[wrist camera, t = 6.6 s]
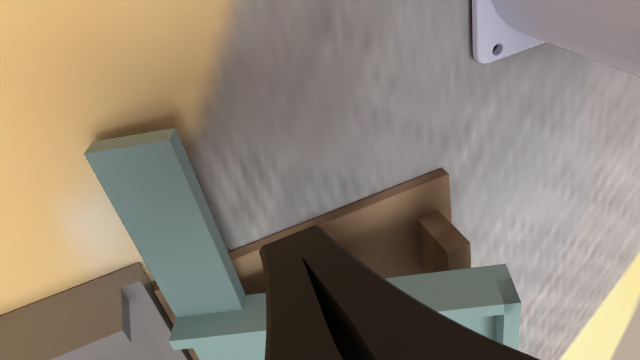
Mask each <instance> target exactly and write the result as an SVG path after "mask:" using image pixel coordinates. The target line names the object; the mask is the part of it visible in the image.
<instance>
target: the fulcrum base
mask: <svg viewBox="0 0 640 360" xmlns="http://www.w3.org/2000/svg"><path fill="white" fill-rule="evenodd" d="M314 225H317V226H319V227H321V228H322V229H323V230H324V231H325V232H326V233H327V234H329V235H330V236H331V237H332V238H333V239H334V240H335V241H336V242H337V243H339V244H340V245H341V246H342V247H343V248H344V249H346V250H347V251H348V252H349V253H351V254H352V255H353V256H354V257H356V258H357V259H358V260H360V261H361V262H362V263H363V264H365V265H366V266H368V267H369V268H370V269H372V270H373V271H374V272H376V273H377V274H379V275H380V276H381V277H383V278H392V277H401V276H409V275H417V274H426V273H434V272H442V271H450V270H459V269H467V268H471V254H470V242H469V241H468V240H467V239H466V238H465V237H464V236H463V235H462V234H461V233H460V232H459V231H458V230H457V229H456V228H455V227H454V226H453V225H452V224H451V207H450V189H449V174H448V173H447V172H446V171H445V170H444V169H442V168H441V169H439V170H436V171H434V172H431V173H428V174H426V175H423V176H421V177H418V178H416V179H413V180H411V181H408V182H406V183H403V184H401V185H398V186H396V187H393V188H390V189H388V190H385V191H383V192H380V193H378V194H375V195H373V196H370V197H368V198H365V199H363V200H360V201H358V202H355V203H353V204H350V205H347V206H345V207H342V208H340V209H337V210H335V211H332V212H330V213H327V214H325V215H322V216H320V217H317V218H315V219H312V220H309V221H307V222H304V223H302V224H299V225H297V226H294V227H292V228H289V229H287V230H284V231H282V232H279V233H277V234H274V235H271V236H269V237H266V238H264V239H261V240H259V241H256V242H254V243H251V244H249V245H246V246H244V247H241V248H239V249H236V250H234V251H231V252H228V254H229V256H230V259H231V261H232V264H233V266H234V268H235V271H236V273H237V276H238V278H239V280H240V283H241V285H242V288H243V290H244V292H245V295H251V294H260V293H266V289H265V278H264V270H263V265H262V260H261V257H260V254H259V251H260V249H261V247H262V246H263V245H266V244H268V243H271V242H273V241H276V240H278V239H281V238H283V237H286V236H288V235H291V234H293V233H296V232H298V231H301V230H303V229H306V228H309V227H311V226H314ZM153 286H154V292H155V294H156V296H157V297H158V299H159V301H160V303H161V304H162V306H163V308H164V309H165V311H166V313H167V315H168V316H169V318H170V320H171V322H172V323H173V325H174V322H175V319H176V317H175V315H174V313H173V311H172V310H171V308H170V306H169V304H168V303H167V301H166V299H165V297H164V295H163V294H162V292H161V290H160V288H159V287H158V285H157V283H156V281H155V282H153ZM187 350H188V351H189V353H190V355H191V357H192V358H193V360H199V358H198V356H197V354H196V352H195V351H194V349H193V348H189V349H187Z"/></svg>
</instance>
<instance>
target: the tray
mask: <svg viewBox="0 0 640 360" xmlns="http://www.w3.org/2000/svg"><path fill="white" fill-rule="evenodd" d="M173 326H174V325H173V323H172V322H171V320H170V318H169V316H168V315H167V313H166V311H165V309H164V308H163V306H162V304H161V303H160V301H159V299H158V297H157V296H156V294H155V292H154V288H153V286H152V284H151V282H150V281H149V279H148V277H147V275H146V274H145V272H144V270H143V268H142V267H141V265H140V263H136V264H134V265H131V266H129V267H126V268H123V269H121V270H118V271H116V272H113V273H110V274H108V275H105V276H103V277H100V278H97V279H95V280H92V281H90V282H87V283H85V284H82V285H79V286H77V287H74V288H72V289H69V290H66V291H64V292H61V293H59V294H56V295H53V296H51V297H48V298H46V299H43V300H40V301H38V302H35V303H33V304H30V305H27V306H25V307H22V308H20V309H17V310H15V311H12V312H9V313H7V314H4V315H2V316H0V360H193V358H192V357H191V355H190V353H189V351H188V350H187V349H180V350H173V348H172V346H171V345H170V343H169V338H170V335H171V332H172V329H173Z"/></svg>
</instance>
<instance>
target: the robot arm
mask: <svg viewBox="0 0 640 360" xmlns="http://www.w3.org/2000/svg"><path fill="white" fill-rule="evenodd" d="M472 30H473V57H474V59H475V60H476V61H477V62H479V63H481V64H488V63H490V62H493V61H496V60H499V59H502V58H504V57H507V56H510V55H513V54H515V53H518V52H521V51H524V50H527V49H529V48H532V47H535V46H538V45H541V44H543V43H546V42H547V43H550V44H553V45H555V46H558V47H561V48H563V49H566V50H569V51H571V52H574V53H577V54H579V55H582V56H585V57H587V58H590V59H593V60H595V61H598V62H601V63H603V64H606V65H609V66H611V67H614V68H616V69H619V70H622V71H624V72H627V73H630V74H632V75H635V76H638V77H640V0H472ZM495 45H497V48H496V50H495V51H494V52H492V51H493V48H494V46H495ZM259 254H260V257H261V260H262V265H263V270H264V278H265V289H266V345H265V360H539V359H537V358H535V357H532V356H530V355H528V354H525V353H523V352H520V351H518V350H516V349H513V348H511V347H509V346H506V345H504V344H501V343H499V342H497V341H494V340H492V339H490V338H488V337H486V336H484V335H482V334H479V333H477V332H475V331H473V330H471V329H469V328H467V327H465V326H463V325H461V324H459V323H457V322H455V321H454V320H452V319H450V318H448V317H446V316H444V315H442V314H440V313H439V312H437V311H435V310H433V309H432V308H430V307H428V306H426V305H425V304H423V303H421V302H420V301H418V300H416V299H415V298H413V297H412V296H410V295H409V294H407V293H405V292H404V291H402V290H401V289H399V288H398V287H396V286H395V285H393V284H392V283H390V282H389V281H387V280H386V279H384V278H383V277H381V276H380V275H379V274H377V273H376V272H374V271H373V270H372V269H370V268H369V267H368V266H366V265H365V264H363V263H362V262H361V261H360V260H358V259H357V258H356V257H354V256H353V255H352V254H351V253H349V252H348V251H347V250H346V249H344V248H343V247H342V246H341V245H340V244H339V243H337V242H336V241H335V240H334V239H333V238H332V237H331V236H330V235H329V234H327V233H326V232H325V231H324V230H323V229H322V228H321V227H319V226H317V225H314V226H311V227H309V228H306V229H303V230H301V231H298V232H296V233H293V234H291V235H288V236H286V237H283V238H281V239H278V240H276V241H273V242H271V243H268V244H266V245H263V246H262V247H261V249H260V251H259Z"/></svg>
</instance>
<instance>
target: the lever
mask: <svg viewBox="0 0 640 360" xmlns="http://www.w3.org/2000/svg"><path fill="white" fill-rule="evenodd" d="M84 155H85V157H86V158H87V160H88V162H89V164H90V165H91V167H92V169H93V171H94V173H95V174H96V176H97V178H98V180H99V181H100V183H101V185H102V187H103V189H104V190H105V192H106V194H107V196H108V197H109V199H110V201H111V203H112V205H113V206H114V208H115V210H116V212H117V214H118V215H119V217H120V219H121V221H122V222H123V224H124V226H125V228H126V230H127V231H128V233H129V235H130V237H131V238H132V240H133V242H134V244H135V246H136V247H137V249H138V251H139V253H140V254H141V256H142V258H143V260H144V262H145V263H146V265H147V267H148V269H149V270H150V272H151V274H152V276H153V278H154V279H155V281H156V283H157V285H158V287H159V288H160V290H161V292H162V294H163V295H164V297H165V299H166V301H167V303H168V304H169V306H170V308H171V310H172V311H173V313H174V315H175V317H176V319H175V322H174V326H173V329H172V332H171V335H170V338H169V343H170V345H171V346H172V348H173V350H180V349H189V348H193V349H194V351H195V352H196V354H197V356H198V358H199V360H265V345H266V293H260V294H251V295H245V292H244V290H243V288H242V285H241V283H240V280H239V278H238V276H237V273H236V271H235V268H234V266H233V264H232V261H231V259H230V256H229V254H228V252H227V249H226V247H225V244H224V242H223V240H222V237H221V235H220V233H219V230H218V228H217V225H216V223H215V221H214V218H213V216H212V213H211V211H210V209H209V206H208V204H207V201H206V199H205V197H204V194H203V192H202V190H201V187H200V185H199V182H198V180H197V178H196V175H195V173H194V170H193V168H192V166H191V163H190V161H189V158H188V156H187V154H186V151H185V149H184V146H183V144H182V142H181V139H180V137H179V135H178V132H177V130H176V128H170V129H164V130H158V131H152V132H146V133H140V134H135V135H129V136H123V137H117V138H111V139H105V140H99V141H93V143H92V144H91V145H90V147H89V148H88V149H87V151H86V152H85V153H84ZM384 279H386V280H387V281H389V282H390V283H392V284H393V285H395V286H396V287H398V288H399V289H401V290H402V291H404V292H405V293H407V294H409V295H410V296H412V297H413V298H415V299H416V300H418V301H420V302H421V303H423V304H425V305H426V306H428V307H430V308H432V309H433V310H435V311H437V312H439V313H440V314H442V315H444V316H446V317H448V318H450V319H452V320H454V321H455V322H457V323H459V324H461V325H463V326H465V327H467V328H469V329H471V330H473V331H475V332H477V333H479V334H482V335H484V336H486V337H488V338H490V339H492V340H494V341H497V342H499V343H501V344H504V345H506V346H509V347H511V348H513V349H516V350H518V342H519V326H520V309H521V301H520V299H519V296H518V294H517V291H516V289H515V286H514V284H513V281H512V279H511V276H510V274H509V271H508V269H507V266H506V264H500V265H492V266H484V267H475V268H467V269H459V270H450V271H442V272H434V273H426V274H417V275H409V276H401V277H392V278H384Z"/></svg>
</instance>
